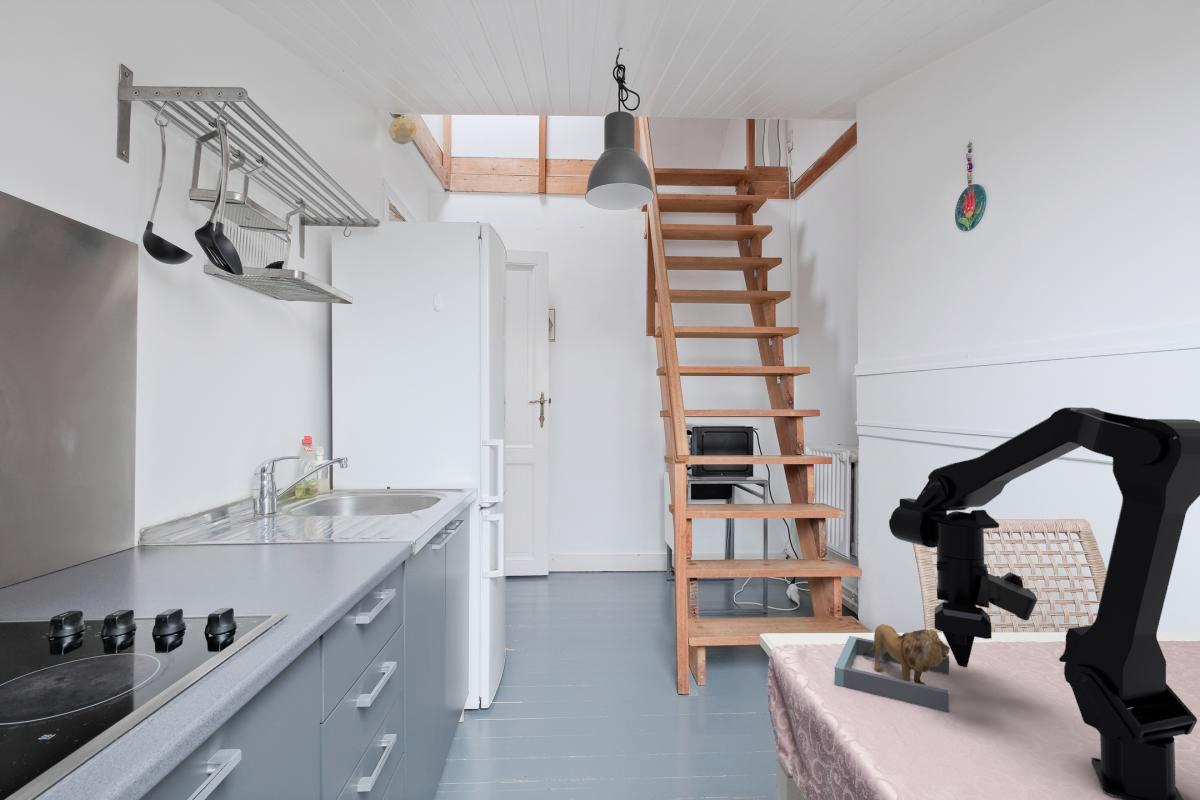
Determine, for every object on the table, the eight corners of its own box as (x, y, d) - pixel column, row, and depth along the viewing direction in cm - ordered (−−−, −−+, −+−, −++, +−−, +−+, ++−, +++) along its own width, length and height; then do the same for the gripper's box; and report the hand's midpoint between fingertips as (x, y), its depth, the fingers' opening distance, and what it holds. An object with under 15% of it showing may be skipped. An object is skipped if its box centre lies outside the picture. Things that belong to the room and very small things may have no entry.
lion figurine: (956, 698, 78) (955, 633, 78) (927, 704, 76) (926, 637, 76) (875, 655, 92) (874, 600, 92) (849, 659, 90) (848, 603, 90)
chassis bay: (948, 712, 74) (948, 693, 74) (834, 684, 82) (834, 667, 82) (949, 671, 86) (949, 655, 86) (849, 650, 93) (849, 635, 93)
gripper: (1040, 579, 67) (1043, 710, 67) (1023, 549, 83) (1026, 655, 83) (933, 566, 73) (935, 686, 73) (936, 540, 89) (938, 639, 88)
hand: (962, 665), depth 79 cm, fingers closed
